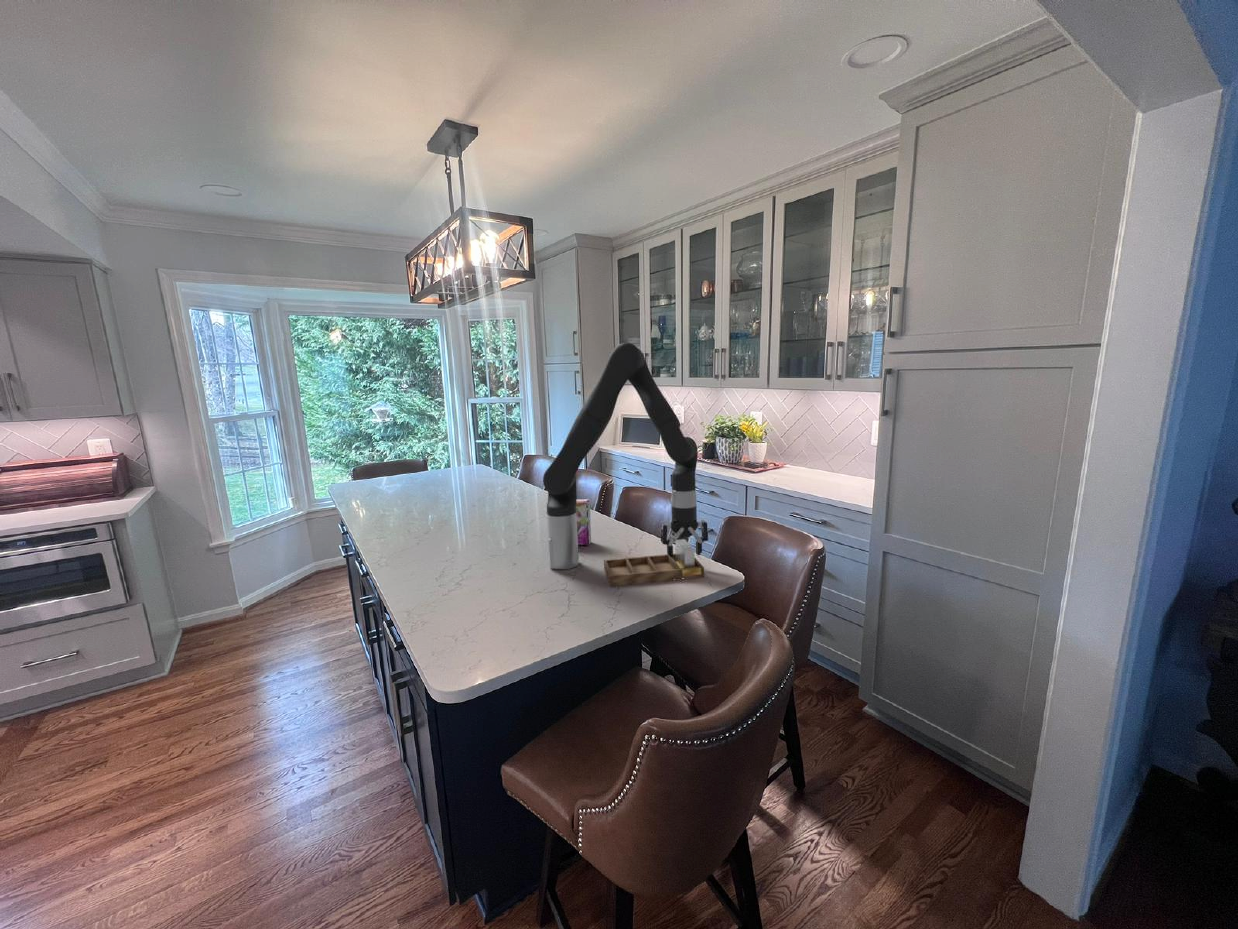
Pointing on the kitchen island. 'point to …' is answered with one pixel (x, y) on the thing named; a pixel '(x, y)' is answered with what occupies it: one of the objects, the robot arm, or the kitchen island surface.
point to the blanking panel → (684, 554)
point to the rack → (648, 570)
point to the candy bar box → (583, 521)
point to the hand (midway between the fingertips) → (684, 555)
